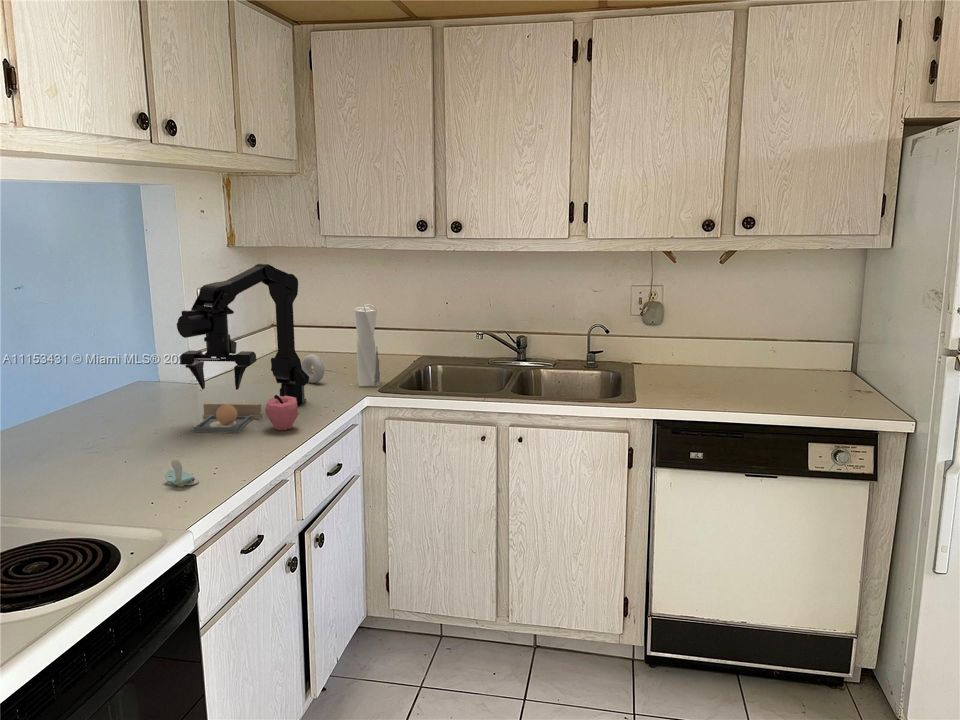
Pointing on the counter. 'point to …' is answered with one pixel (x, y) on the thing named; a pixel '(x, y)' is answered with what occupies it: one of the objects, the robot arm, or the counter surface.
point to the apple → (282, 411)
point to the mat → (222, 425)
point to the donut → (318, 368)
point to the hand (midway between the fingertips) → (220, 389)
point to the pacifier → (179, 475)
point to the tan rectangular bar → (241, 408)
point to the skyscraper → (367, 347)
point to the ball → (226, 414)
